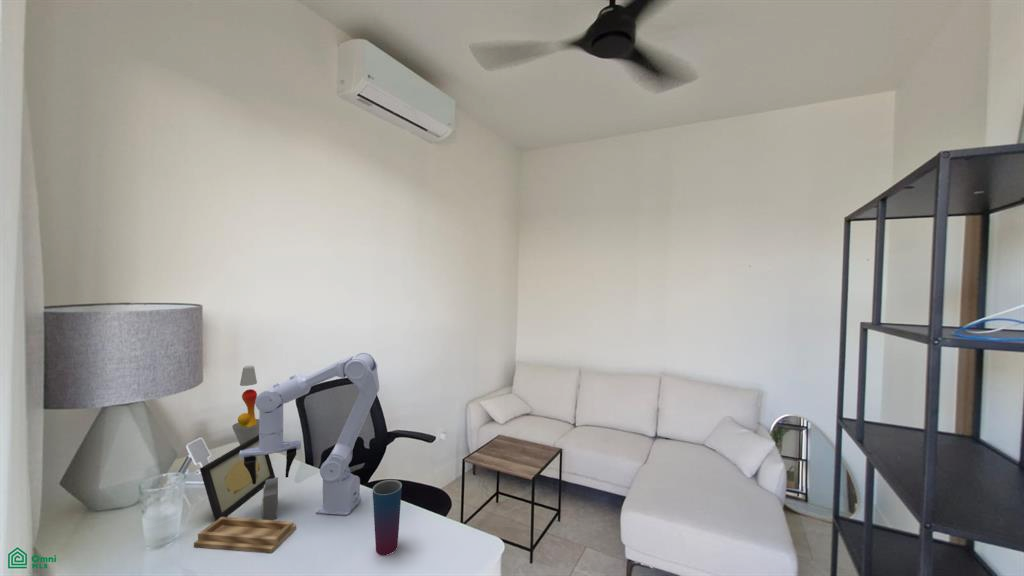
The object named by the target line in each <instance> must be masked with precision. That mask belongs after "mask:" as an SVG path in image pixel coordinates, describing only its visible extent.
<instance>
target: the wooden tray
mask: <svg viewBox="0 0 1024 576" xmlns="http://www.w3.org/2000/svg"><path fill="white" fill-rule="evenodd" d="M294 523H295V522H294V521H288V520H287V521H286V520H276V519H275V520H263V519H260V518H258V519H257V518H244V517H233V516H232V517H228V516H226V517H221V518H219V519H218V520H216V521H215V520H214V522H212V523H211V524H209V525H208V526H207V527H205V528H204V529H203V530H201V531H200V532H198V533H197V540H196V541H195V542H193V548H203V549H214V550H227V551H228V550H229V551H238V552H239V551H240V552H252V553H253V552H254V553H266V554H272V553H273V552H275V550H277V548H278V547H280V546H281V544H283V542H285V541H286V540H287V539H288V537H290V536H291V535H292V534H293V533H294V531H296V530H297V524H294Z"/></svg>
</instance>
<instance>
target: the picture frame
mask: <svg viewBox="0 0 1024 576" xmlns="http://www.w3.org/2000/svg"><path fill="white" fill-rule="evenodd" d="M257 446H259V435H257V436H255V437H254V438H252V439H250V440H248V441H247V442H245V443H243V444H241V445H240V444H239V445H238V446H236V447H234V448H232V449H230V450H229V451H228V452H226V453H224V454H222V455H221V456H219V457H217V458H216V459H214V460H212V461H211V462H209V463H207V464H205V465H204V466H201V467H200V468H199V472H200V473H201V478H202V481H203V485H204V488H205V492H206V495H207V499H208V503H209V506H210V509H211V513H212V516H213V519H214V520H213V521H214V522H215V521H216V520H218V519H219V518H221V517H228V515H230V514H231V512H233V511H234V510H236V509H237V508H238V507H239V506H241V505H242V504H244V503H245V502H246V501H247V500H249V498H250V497H252V496H253V495H255V494H256V493H257V492H258V491H259V490H261V489H262V488H264V485H265V482H266V480H267V479H272V478H276V475H275V471H274V468H273V464H272V460H271V458H270V454H267V455H262V456H256V484H253V482H252V478H251V475H250V473H249V471H248V470H247V468H246V467H245V465H244V460H239V453H240V451H241V450H246V449H250V448H254V447H257Z"/></svg>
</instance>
